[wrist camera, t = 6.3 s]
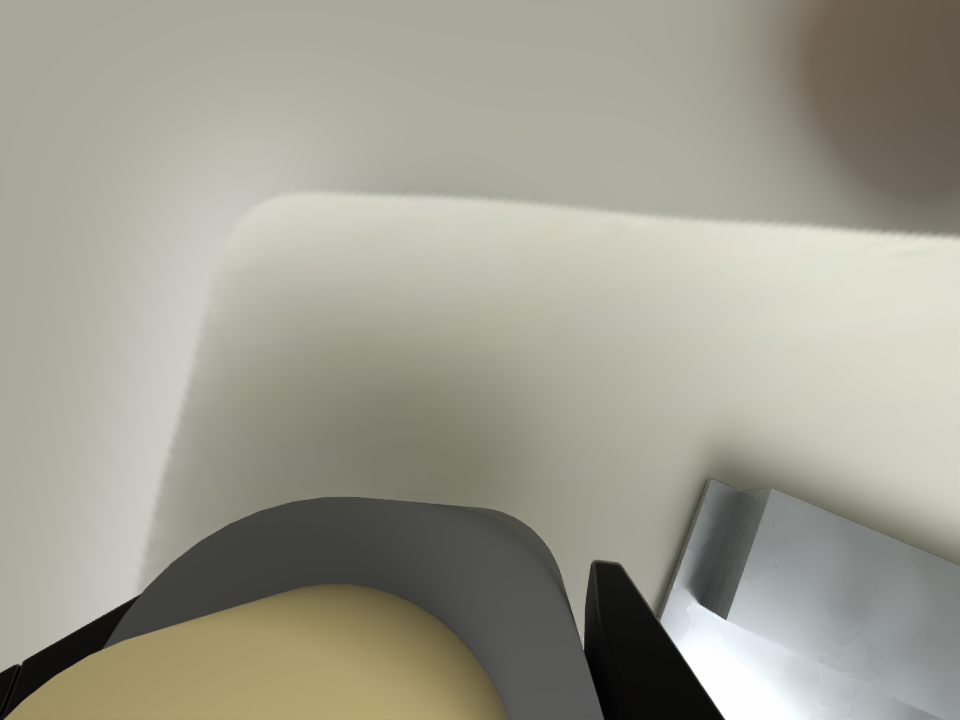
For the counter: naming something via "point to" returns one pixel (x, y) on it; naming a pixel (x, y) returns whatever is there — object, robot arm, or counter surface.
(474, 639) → the grey and tan cylinder
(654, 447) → the counter surface
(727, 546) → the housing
